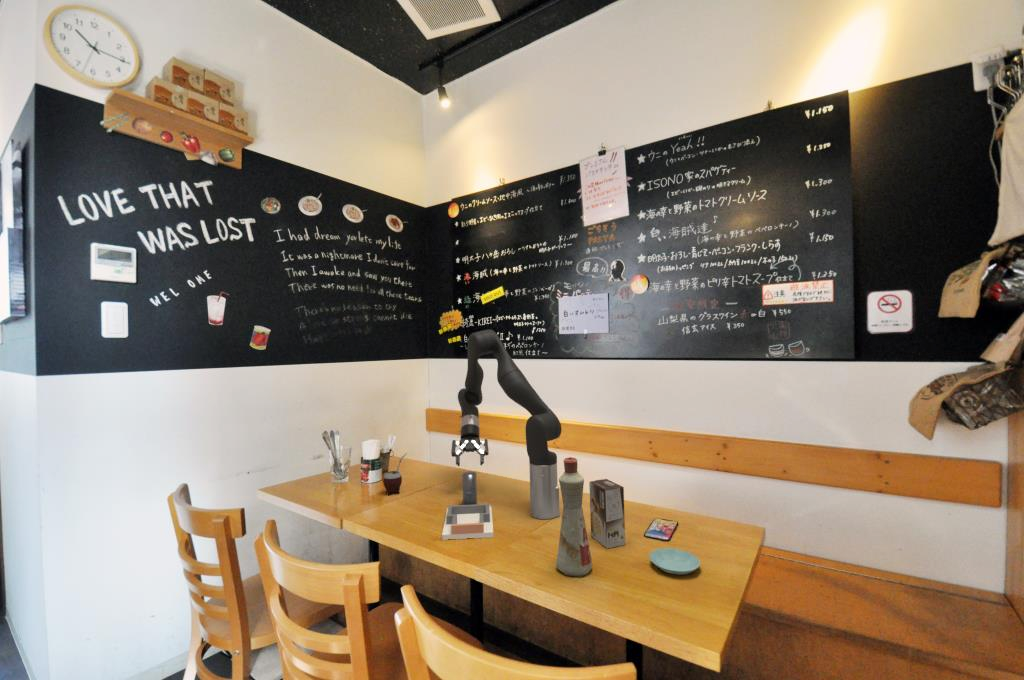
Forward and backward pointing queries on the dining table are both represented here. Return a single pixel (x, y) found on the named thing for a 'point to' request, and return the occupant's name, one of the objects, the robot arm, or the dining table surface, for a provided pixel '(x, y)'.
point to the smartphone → (661, 529)
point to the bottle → (573, 524)
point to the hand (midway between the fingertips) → (470, 464)
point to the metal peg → (469, 488)
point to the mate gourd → (393, 481)
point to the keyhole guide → (468, 522)
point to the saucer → (674, 561)
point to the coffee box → (607, 513)
